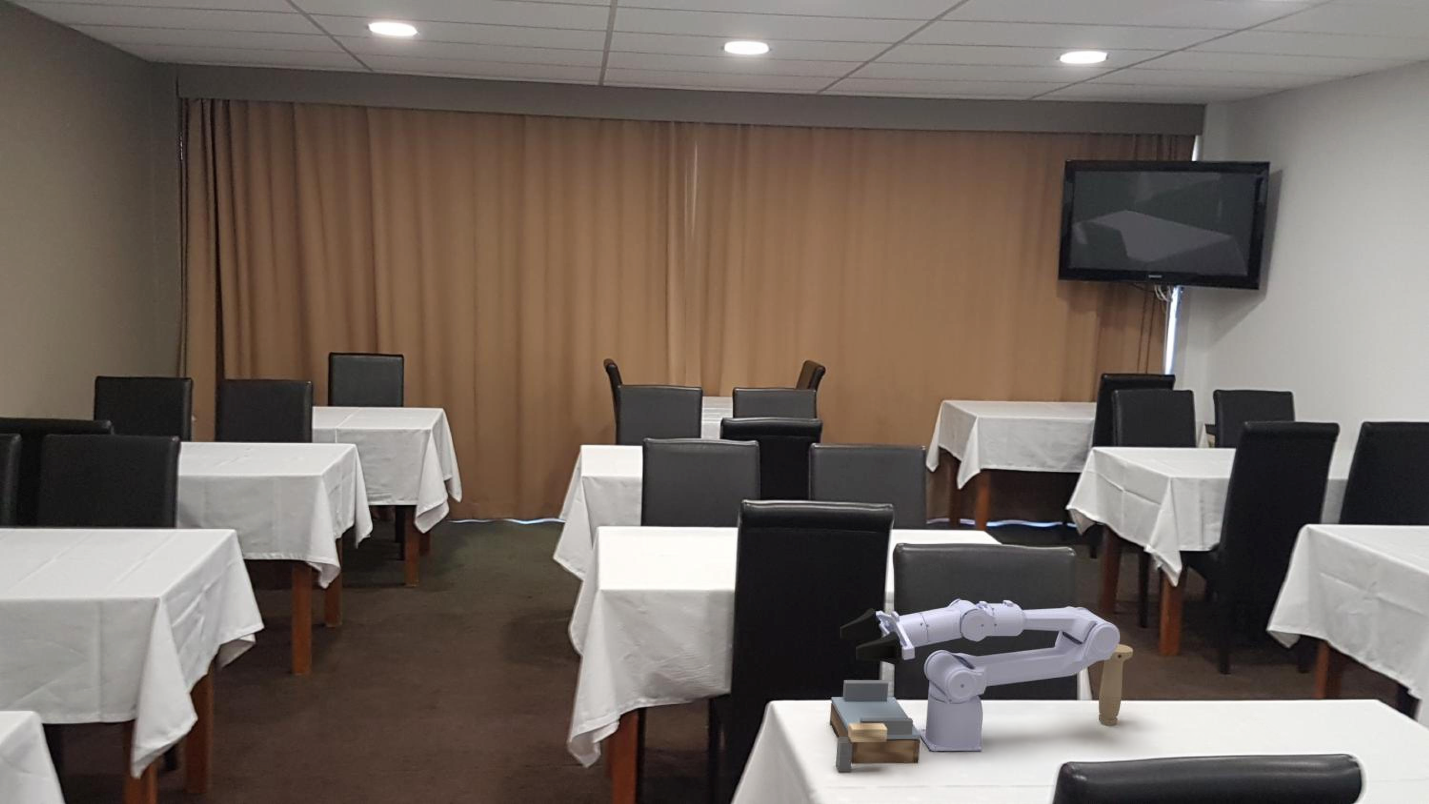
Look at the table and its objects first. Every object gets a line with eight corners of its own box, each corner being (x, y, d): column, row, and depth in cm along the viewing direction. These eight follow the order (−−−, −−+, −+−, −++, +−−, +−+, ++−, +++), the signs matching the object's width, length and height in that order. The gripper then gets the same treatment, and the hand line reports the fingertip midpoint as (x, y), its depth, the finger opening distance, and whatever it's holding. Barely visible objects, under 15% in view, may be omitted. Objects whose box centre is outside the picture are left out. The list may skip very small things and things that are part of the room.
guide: (847, 765, 184) (849, 736, 183) (850, 772, 182) (852, 743, 181) (835, 765, 184) (837, 736, 183) (838, 772, 181) (840, 743, 181)
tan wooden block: (882, 735, 184) (883, 723, 184) (886, 741, 182) (887, 729, 181) (848, 735, 183) (849, 723, 183) (851, 741, 181) (852, 729, 181)
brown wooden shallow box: (892, 723, 202) (894, 702, 202) (918, 762, 186) (919, 740, 186) (829, 723, 201) (831, 702, 200) (850, 763, 185) (851, 740, 185)
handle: (1129, 728, 205) (1137, 652, 203) (1095, 727, 205) (1103, 651, 203) (1119, 718, 210) (1126, 643, 208) (1086, 716, 210) (1093, 642, 208)
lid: (894, 701, 202) (895, 679, 201) (920, 738, 186) (921, 715, 185) (831, 701, 200) (832, 678, 200) (852, 739, 184) (853, 715, 184)
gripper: (903, 591, 197) (833, 604, 194) (938, 626, 183) (863, 641, 180) (904, 626, 199) (834, 639, 196) (939, 663, 185) (864, 679, 182)
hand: (848, 643), depth 188 cm, fingers open, 7 cm apart
